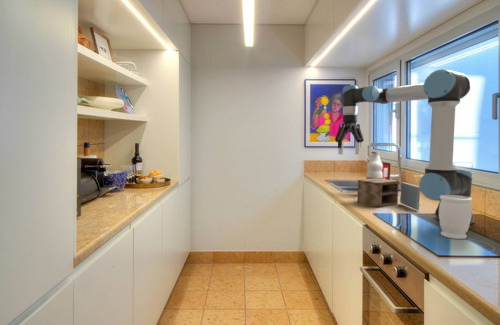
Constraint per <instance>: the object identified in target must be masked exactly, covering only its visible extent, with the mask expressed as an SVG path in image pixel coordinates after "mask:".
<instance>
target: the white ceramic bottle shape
mask: <svg viewBox="0 0 500 325" xmlns="http://www.w3.org/2000/svg"><path fill="white" fill-rule="evenodd" d="M370 153H371V157H370V158H369V162H367V165H366V167H367V171H366V179H372V178H379V179H383V173H382V168H383V164H382V162H383V161H382V160H381V157H380V154H381V152H380V151H370ZM381 161H382V162H381Z"/></svg>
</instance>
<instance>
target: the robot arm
mask: <svg viewBox="0 0 500 325" xmlns="http://www.w3.org/2000/svg"><path fill="white" fill-rule="evenodd" d="M471 87H472V82H471V79H470V78H469V77H468V76H467V74H465V73H463V72H458V71H454V70H451V69H437V70H434V71H432V72H430V74H429V75H428V76H427V77H426V78H425V80H424V83H417V84H409V85H402V86H394V87H388V88H387V87H386V88H378V87H377V86H376V85H367V86H363V87H358V85H355V84H350V85H345V86H344V87H343V88H342V114H343V115H342V123H339V126H338V127H339V128H338V129H337V132H336V136H335V137H334V141H335V142H336V143H337V149H338V151H337V152H338V153H337V154H338V155H344V141H343V140H344V139H345V138H346V136H347V134H348V133H351V134H352V135H353V138H354V140H355V141H356V142H355V144H354V145H355V148H354V149H355V150H354V151H355V155H361V147H362V146H361V144H362V143H363V142H364V137H363V136H364V135H363V134H362V129H361V125H360V124H359V123H358V124H356V123H357V122H358V103H373V104H374V103H375V104H382V105H384V104H389V103H397V102H398V103H399V102H409V101H418V100H419V101H421V100H427V104H428V106H429V107H430V108H431V114H430V116H431V118H430V136H429V137H430V139H429V140H430V142H429V161H428V164H427V165H426V166H425V168H424V175H422V177H421V178H420V180H419V184H418V185H419V186H418V187H420V193H421V194H422V195H423V196H424V197H425V198H427V199H429V200H430V201H438V204H437V207H436V209H435V211H434V219H435V220H438V221H440V219H439V206H440V202H441V199H440V195H459V196H466V197H470V198H472V197H471V196H472V182H473V181H472V180H473V175H472V174H473V173H472V172H471V171H470V170H466V169H460V168H459V169H458V168H456V166H454V164H453V162H454V141H455V123H456V122H455V121H456V108H457V106H458V105H460V103H461V99H462V98H464V97H466V96H467V95H468V94H469V93H470V90H471ZM474 217H475V216H474V213H473V212H472V217H471V221H470V225H471V224H473V223H474V222H475V218H474Z"/></svg>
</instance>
